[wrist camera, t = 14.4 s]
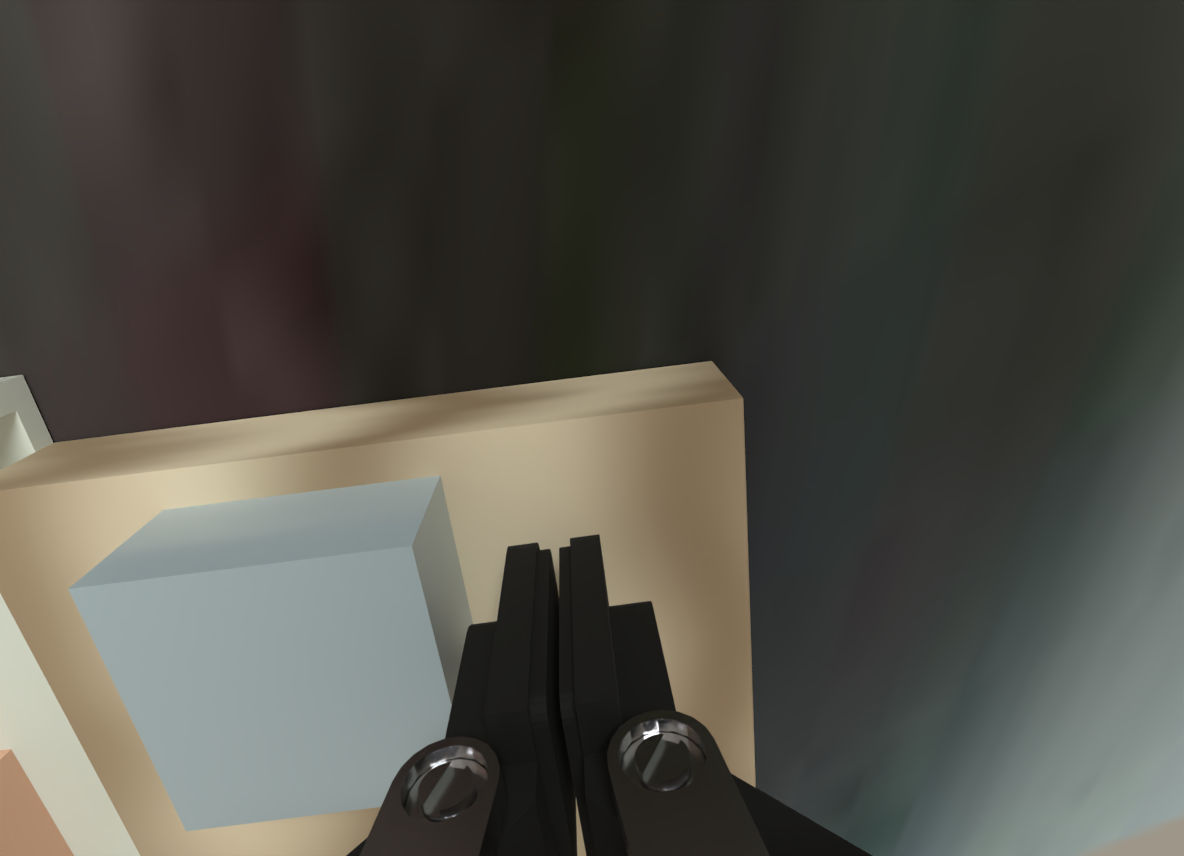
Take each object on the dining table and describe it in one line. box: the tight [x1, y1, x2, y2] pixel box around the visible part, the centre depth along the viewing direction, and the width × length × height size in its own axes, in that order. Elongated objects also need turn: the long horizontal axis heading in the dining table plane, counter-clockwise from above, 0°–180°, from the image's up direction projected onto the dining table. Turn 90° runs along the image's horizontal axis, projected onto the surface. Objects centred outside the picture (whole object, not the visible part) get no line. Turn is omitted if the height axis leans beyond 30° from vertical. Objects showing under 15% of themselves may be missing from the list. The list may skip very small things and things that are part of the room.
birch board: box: [0, 361, 756, 856], centre depth 15 cm, size 14×13×2 cm
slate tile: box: [68, 475, 473, 831], centre depth 11 cm, size 5×5×2 cm
